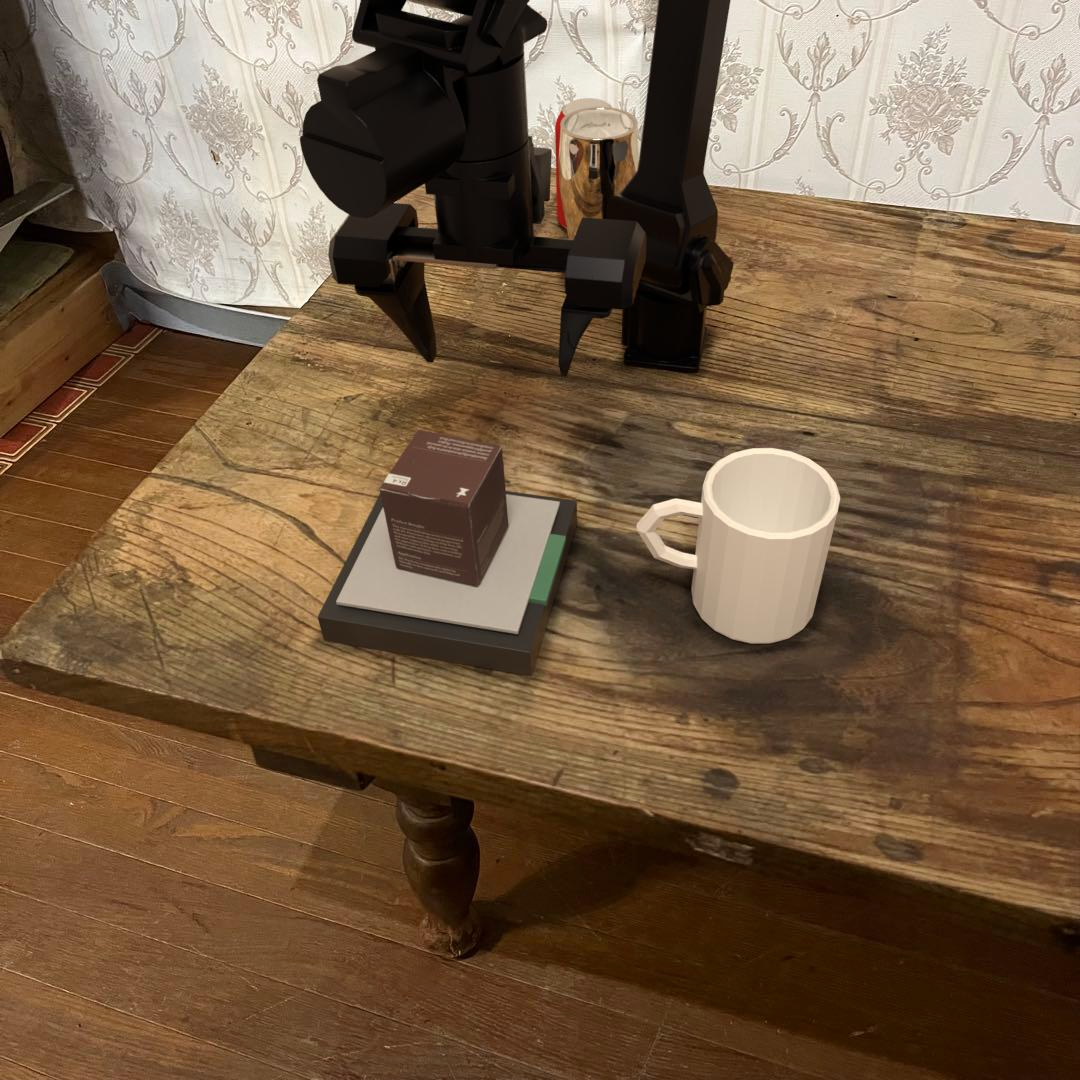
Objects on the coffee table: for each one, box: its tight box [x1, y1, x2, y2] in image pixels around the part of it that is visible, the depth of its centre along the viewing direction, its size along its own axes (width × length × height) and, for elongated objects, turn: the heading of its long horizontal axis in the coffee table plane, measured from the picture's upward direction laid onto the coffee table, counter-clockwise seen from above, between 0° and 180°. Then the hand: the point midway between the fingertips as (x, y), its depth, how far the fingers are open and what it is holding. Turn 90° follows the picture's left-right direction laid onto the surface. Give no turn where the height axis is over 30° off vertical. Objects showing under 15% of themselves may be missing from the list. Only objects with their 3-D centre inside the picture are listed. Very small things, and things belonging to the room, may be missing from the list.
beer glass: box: [559, 107, 640, 239], centre depth 93 cm, size 7×7×15 cm
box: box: [379, 429, 509, 586], centre depth 66 cm, size 6×6×7 cm
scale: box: [317, 490, 578, 677], centre depth 70 cm, size 14×14×3 cm
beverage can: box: [554, 97, 613, 230], centre depth 101 cm, size 6×6×12 cm
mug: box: [635, 447, 841, 645], centre depth 66 cm, size 8×12×10 cm
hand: (497, 365), depth 69 cm, fingers open, 9 cm apart
